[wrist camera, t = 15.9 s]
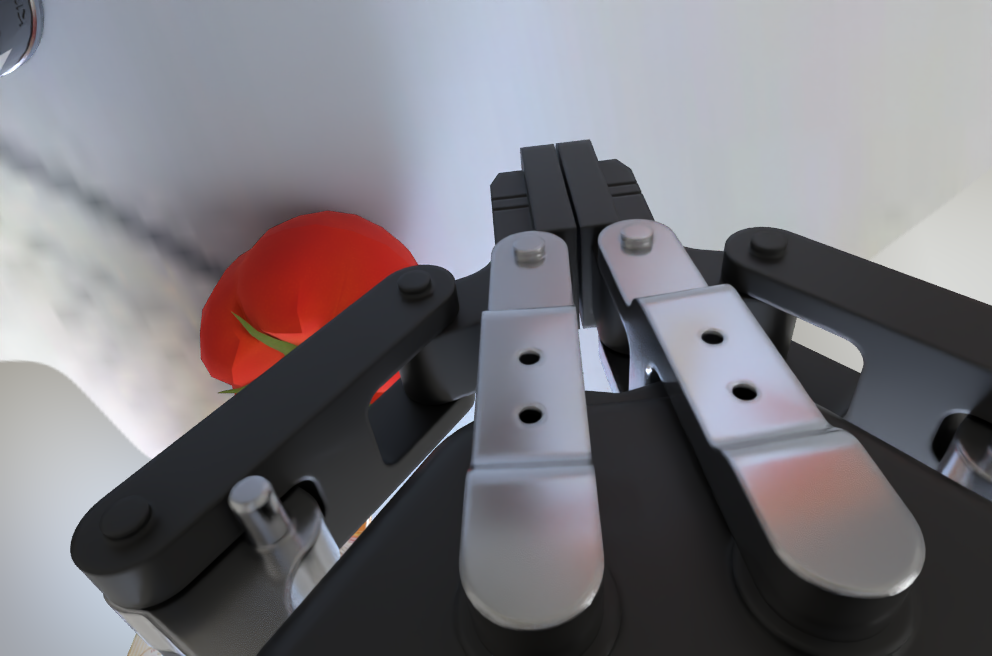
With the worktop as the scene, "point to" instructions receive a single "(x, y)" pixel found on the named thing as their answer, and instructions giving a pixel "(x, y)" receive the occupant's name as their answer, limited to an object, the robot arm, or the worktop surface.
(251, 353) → the tomato
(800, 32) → the worktop surface
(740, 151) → the worktop surface
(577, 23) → the worktop surface
